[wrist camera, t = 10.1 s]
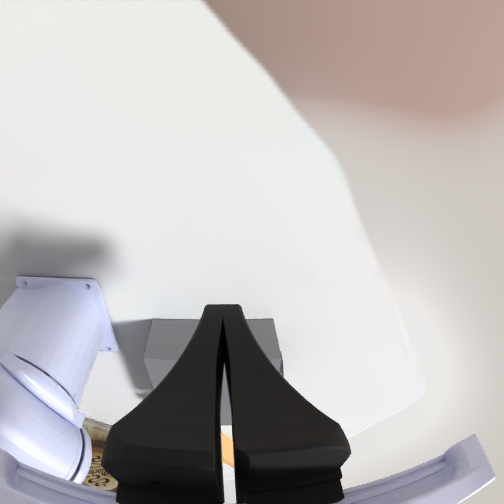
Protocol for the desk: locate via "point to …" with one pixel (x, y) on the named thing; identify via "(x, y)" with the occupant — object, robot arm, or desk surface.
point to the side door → (227, 450)
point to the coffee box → (98, 457)
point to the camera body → (177, 338)
